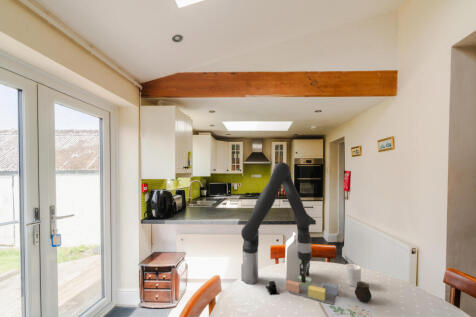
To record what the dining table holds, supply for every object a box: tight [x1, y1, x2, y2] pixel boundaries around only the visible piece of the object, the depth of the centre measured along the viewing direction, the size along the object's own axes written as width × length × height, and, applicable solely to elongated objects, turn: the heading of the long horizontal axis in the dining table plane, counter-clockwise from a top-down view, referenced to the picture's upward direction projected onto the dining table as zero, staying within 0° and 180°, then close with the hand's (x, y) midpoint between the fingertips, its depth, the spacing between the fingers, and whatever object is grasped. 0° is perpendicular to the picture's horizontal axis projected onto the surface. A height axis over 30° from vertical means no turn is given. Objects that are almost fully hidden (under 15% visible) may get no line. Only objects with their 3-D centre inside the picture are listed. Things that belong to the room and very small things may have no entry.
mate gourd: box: [354, 281, 372, 304], centre depth 111 cm, size 7×8×10 cm
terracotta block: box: [285, 280, 300, 293], centre depth 120 cm, size 7×4×4 cm, turn 60°
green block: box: [297, 276, 313, 288], centre depth 124 cm, size 7×4×4 cm, turn 60°
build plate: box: [265, 280, 281, 296], centre depth 121 cm, size 12×7×5 cm, turn 8°
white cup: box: [345, 263, 362, 288], centre depth 126 cm, size 8×8×10 cm
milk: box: [284, 231, 303, 282], centre depth 137 cm, size 12×12×26 cm
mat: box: [288, 281, 336, 306], centre depth 118 cm, size 22×13×1 cm, turn 60°
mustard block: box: [308, 284, 326, 301], centre depth 113 cm, size 8×4×4 cm, turn 60°
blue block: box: [322, 281, 339, 297], centre depth 117 cm, size 7×4×4 cm, turn 60°
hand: (305, 279), depth 124 cm, fingers open, 8 cm apart
